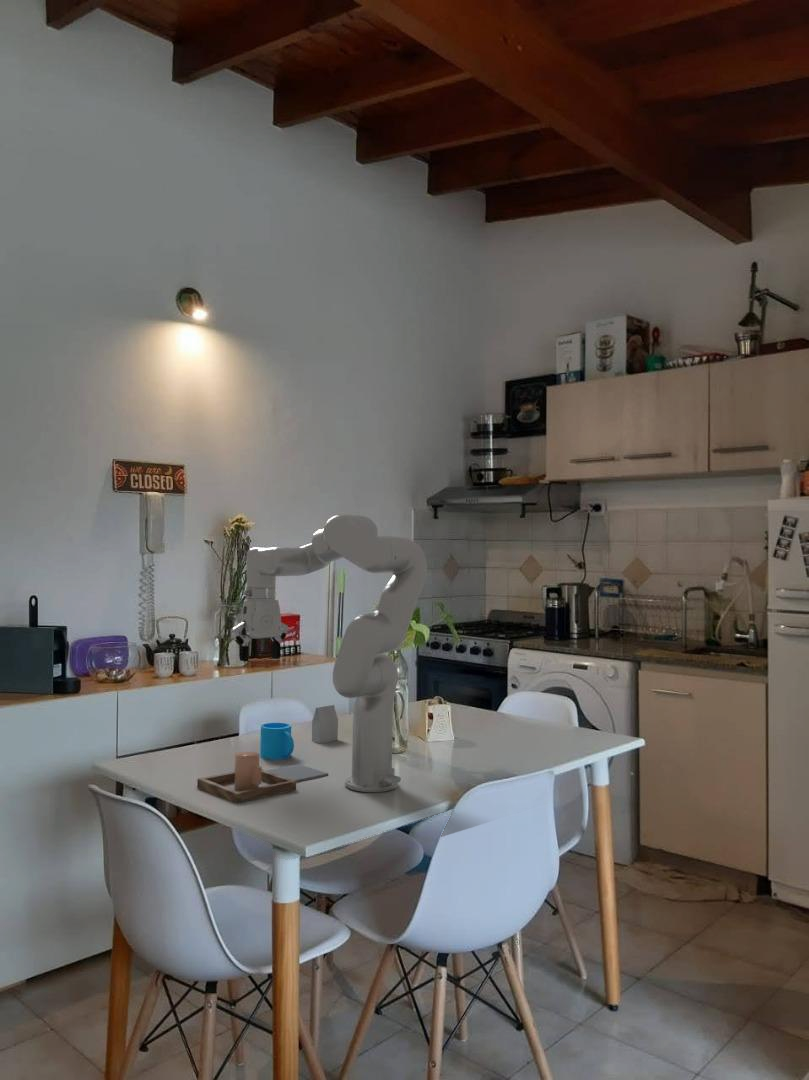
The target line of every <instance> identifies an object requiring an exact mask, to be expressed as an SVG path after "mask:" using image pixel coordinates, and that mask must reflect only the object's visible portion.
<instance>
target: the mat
mask: <svg viewBox="0 0 809 1080" xmlns="http://www.w3.org/2000/svg"><path fill="white" fill-rule="evenodd" d="M265 771H268V772H271V773H274V774H277V775H280V776H283V777H285V778H288V779H291V780H294V781H296V783H298V782H303V781H308V780H313V779H317V778H322V777H326V776H329V774H328V772H325V771H323V770H318V769H316V768H312V767H310V766H306V765H303V764H299V763H297V764H293V765H288V766H282V767H277V768H272V769H266V770H265Z"/></svg>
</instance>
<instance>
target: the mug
mask: <svg viewBox="0 0 809 1080" xmlns="http://www.w3.org/2000/svg"><path fill="white" fill-rule="evenodd" d="M259 745H260V749H259V757H261V758H262V759H265V760H284V759H288V758H290V757H291V755H292V754H293V752H294V750H295V743H294V738H293V736H292V725H291V724H290V723H287V722H267V723H263V724H261V725H260V744H259Z"/></svg>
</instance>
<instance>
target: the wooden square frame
mask: <svg viewBox="0 0 809 1080" xmlns="http://www.w3.org/2000/svg"><path fill="white" fill-rule="evenodd" d="M196 781H197V783H196V784H197V787H196V788H198V789H201V790H203V791H206V792H208V793H210V794H213V795H216V796H218V797H220V798H223V799H226V800H227V801H229V802H230V801H231V802H232V803H233V802H234V803H236V804H237V803H242V802H247V801H252V800H256V799H261V798H264V797H271V796H274V795H279V794H283V793H287V792H292V791H296V790H297V782H296V781H294V780H291V779H288V778H285V777H283V776H280V775H277V774H274V773H271V772H268V771H266V770H264V769H262V771H261V781H264V782H267V783H270V784H269V785H264V786H259V787H258V788H254V789H249V790H244V791H236V790H235V789H233V788H229V787H226V786H223V784H224V785H225V784H228V783H233V782H234V783H235V771H231V772H226V773H220V774H215V775H211V776H210V775H209V776H205V777H200V778H197V780H196Z"/></svg>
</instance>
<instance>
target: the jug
mask: <svg viewBox="0 0 809 1080" xmlns="http://www.w3.org/2000/svg"><path fill="white" fill-rule="evenodd" d="M262 770H263V769H262V766H260V752H256V751H239V752H237V753H235V754H234V772H235V781H234V790H235V791H238V792H239V791H244V790H249V789H254V788H258V787H260V785H262V780H261V771H262Z"/></svg>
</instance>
